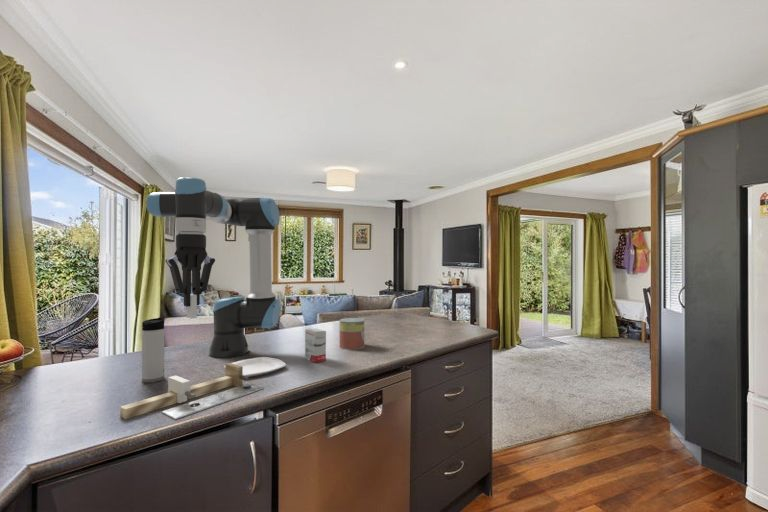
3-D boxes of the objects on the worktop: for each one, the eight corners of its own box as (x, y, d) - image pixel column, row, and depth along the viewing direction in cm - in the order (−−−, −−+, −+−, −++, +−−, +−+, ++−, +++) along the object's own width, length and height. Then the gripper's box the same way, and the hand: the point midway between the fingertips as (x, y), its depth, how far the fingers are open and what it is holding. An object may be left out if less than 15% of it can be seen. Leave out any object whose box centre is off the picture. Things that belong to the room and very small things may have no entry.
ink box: (326, 360, 142) (326, 330, 142) (315, 363, 138) (315, 332, 138) (315, 356, 148) (315, 327, 148) (304, 358, 145) (304, 328, 145)
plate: (293, 370, 131) (293, 364, 131) (242, 383, 117) (242, 377, 117) (266, 359, 145) (266, 354, 145) (216, 371, 130) (216, 365, 130)
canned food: (363, 349, 158) (363, 322, 158) (337, 349, 159) (337, 322, 159) (365, 343, 170) (365, 317, 170) (341, 343, 170) (341, 317, 170)
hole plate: (162, 412, 94) (162, 411, 94) (249, 384, 116) (249, 382, 116) (175, 419, 90) (175, 417, 90) (263, 388, 112) (263, 387, 112)
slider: (189, 407, 97) (189, 385, 97) (167, 397, 104) (167, 377, 104) (197, 405, 98) (197, 383, 98) (175, 395, 105) (175, 375, 105)
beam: (136, 426, 87) (136, 401, 87) (118, 415, 93) (118, 391, 93) (252, 386, 113) (252, 367, 113) (233, 380, 119) (233, 362, 119)
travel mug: (169, 377, 122) (169, 317, 122) (151, 383, 116) (151, 320, 116) (156, 375, 124) (156, 316, 125) (137, 381, 118) (137, 319, 118)
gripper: (172, 232, 95) (173, 322, 95) (220, 234, 106) (221, 315, 106) (160, 233, 100) (160, 319, 100) (207, 235, 110) (207, 313, 110)
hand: (191, 317), depth 103 cm, fingers closed
